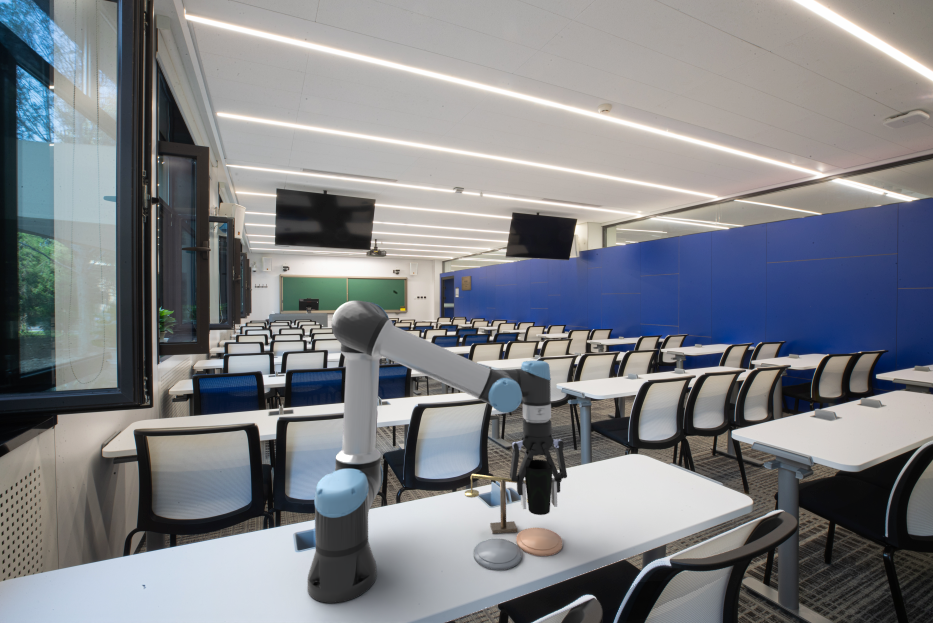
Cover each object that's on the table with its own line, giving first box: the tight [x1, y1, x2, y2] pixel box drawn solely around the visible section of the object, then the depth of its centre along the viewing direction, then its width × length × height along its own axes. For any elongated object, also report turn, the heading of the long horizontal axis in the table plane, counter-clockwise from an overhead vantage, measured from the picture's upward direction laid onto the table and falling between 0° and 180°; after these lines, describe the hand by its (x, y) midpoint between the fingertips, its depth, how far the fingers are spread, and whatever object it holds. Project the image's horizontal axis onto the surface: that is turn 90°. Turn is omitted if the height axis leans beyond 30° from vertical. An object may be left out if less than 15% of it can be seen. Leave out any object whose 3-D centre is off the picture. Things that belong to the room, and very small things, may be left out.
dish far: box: [516, 527, 563, 557], centre depth 106 cm, size 12×12×1 cm
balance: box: [464, 473, 528, 535], centre depth 114 cm, size 22×4×16 cm, turn 96°
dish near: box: [473, 538, 522, 571], centre depth 101 cm, size 12×12×1 cm
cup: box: [524, 459, 553, 516], centre depth 107 cm, size 8×8×12 cm
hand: (539, 505), depth 107 cm, fingers closed on cup, 8 cm apart
